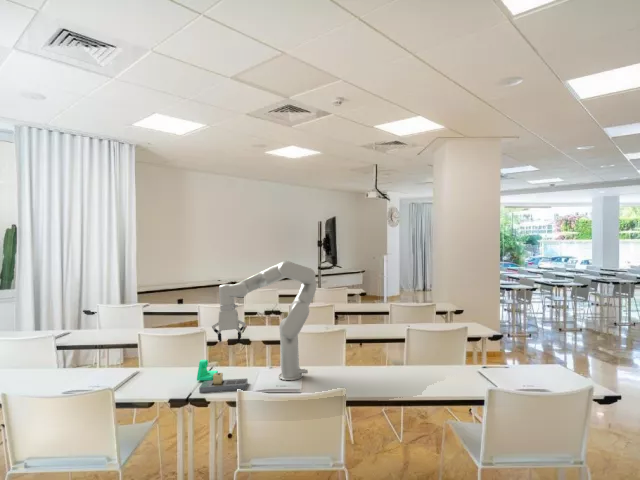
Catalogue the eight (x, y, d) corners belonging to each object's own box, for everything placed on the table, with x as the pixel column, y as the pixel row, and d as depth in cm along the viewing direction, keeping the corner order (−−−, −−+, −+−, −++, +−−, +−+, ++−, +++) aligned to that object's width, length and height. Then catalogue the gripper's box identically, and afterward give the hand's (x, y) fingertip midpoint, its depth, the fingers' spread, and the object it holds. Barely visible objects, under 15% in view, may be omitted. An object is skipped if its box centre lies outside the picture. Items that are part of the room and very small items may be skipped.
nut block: (223, 386, 196) (222, 372, 196) (221, 389, 192) (221, 374, 192) (214, 387, 195) (214, 372, 196) (213, 390, 191) (213, 375, 192)
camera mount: (211, 382, 204) (210, 362, 204) (197, 382, 204) (196, 362, 205) (218, 375, 216) (217, 356, 216) (204, 375, 216) (204, 356, 217)
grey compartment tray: (247, 383, 199) (247, 378, 199) (245, 390, 189) (244, 384, 190) (204, 385, 198) (204, 380, 198) (199, 392, 188) (199, 387, 188)
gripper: (244, 305, 208) (247, 337, 207) (212, 308, 206) (214, 340, 205) (243, 307, 200) (245, 340, 200) (209, 310, 198) (211, 343, 198)
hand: (229, 340), depth 202 cm, fingers open, 9 cm apart
